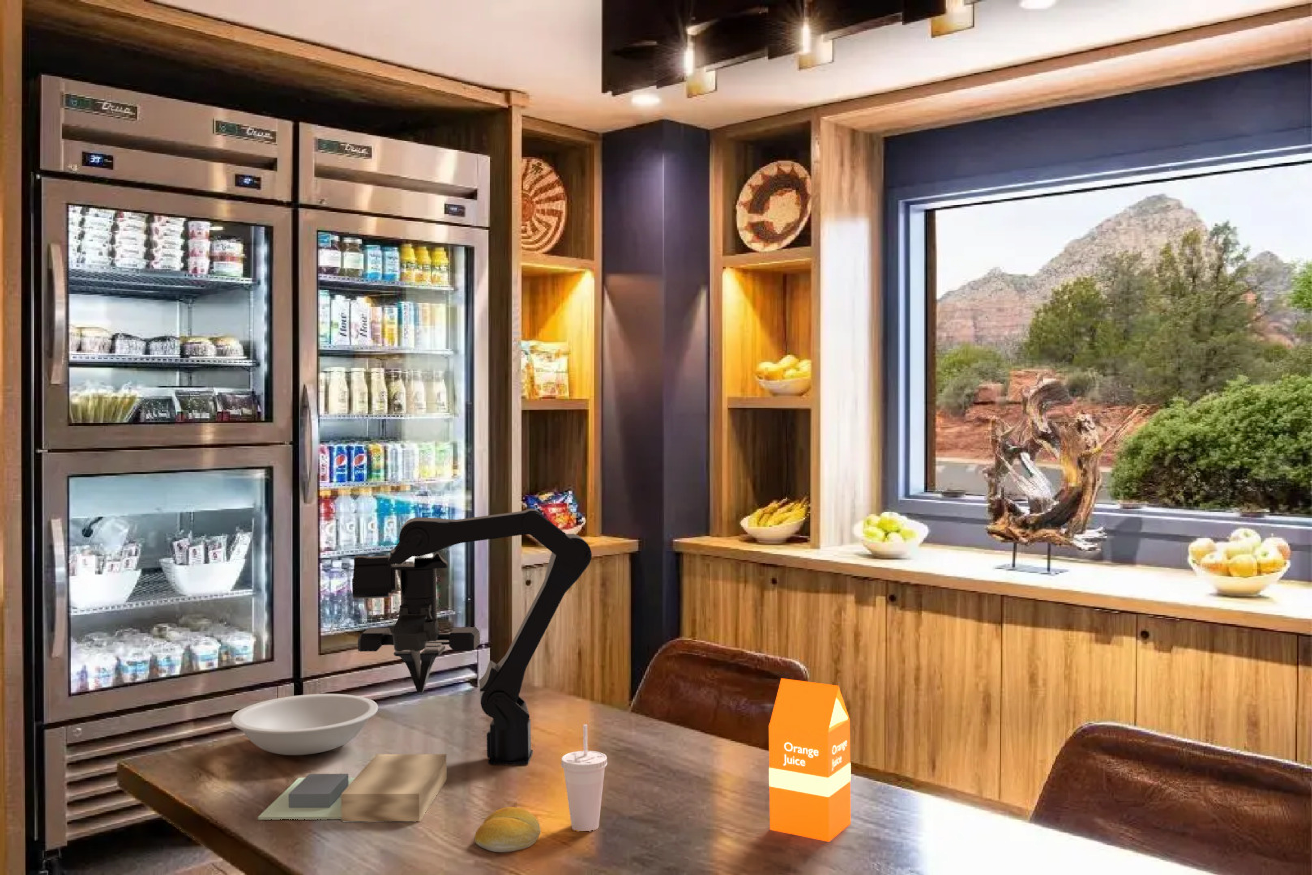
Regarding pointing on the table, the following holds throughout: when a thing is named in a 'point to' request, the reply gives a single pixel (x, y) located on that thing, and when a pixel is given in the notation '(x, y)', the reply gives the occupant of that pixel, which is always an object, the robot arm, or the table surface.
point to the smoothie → (584, 785)
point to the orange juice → (809, 761)
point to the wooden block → (394, 788)
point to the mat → (282, 810)
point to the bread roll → (508, 830)
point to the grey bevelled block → (318, 791)
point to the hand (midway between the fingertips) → (420, 692)
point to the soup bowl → (304, 722)
